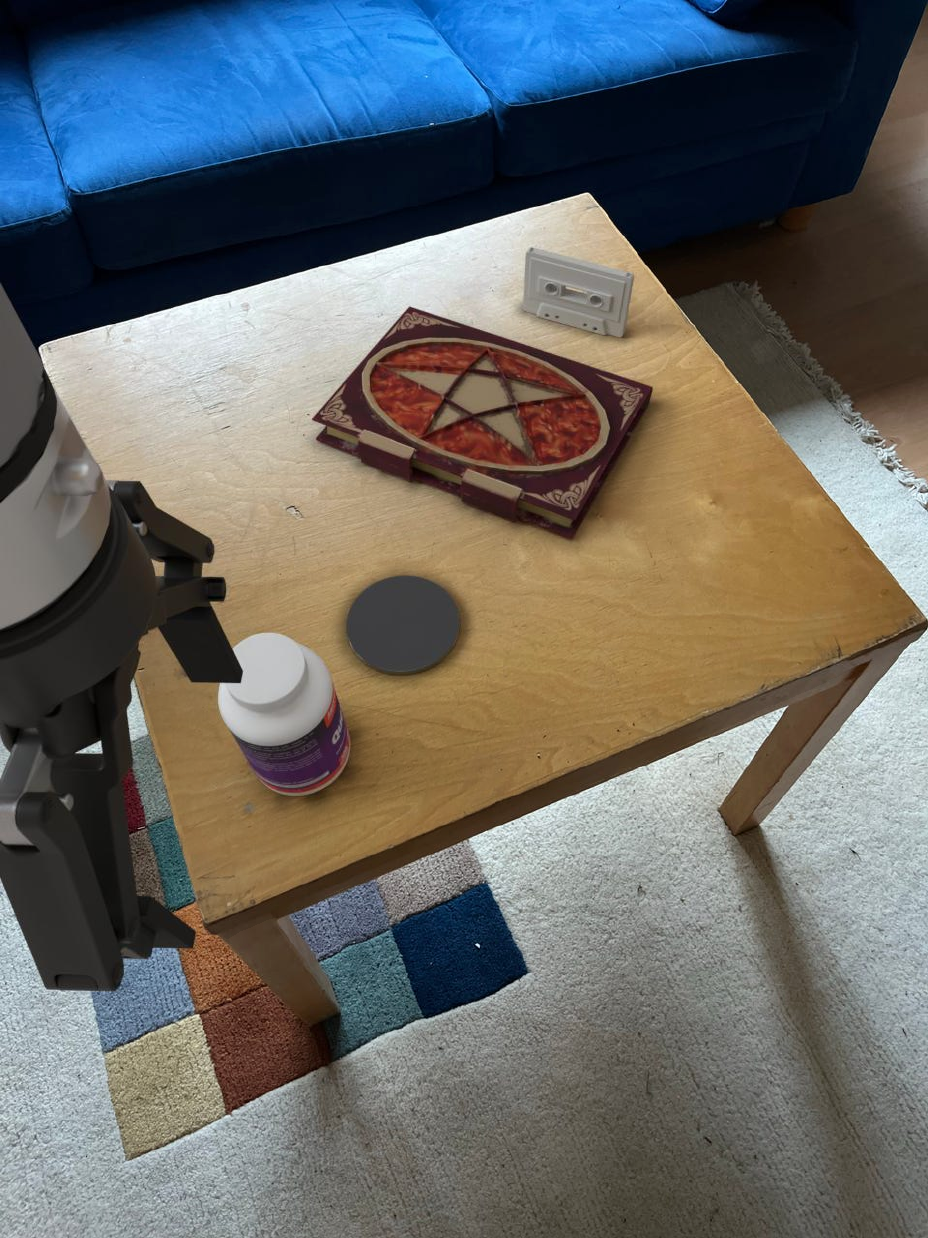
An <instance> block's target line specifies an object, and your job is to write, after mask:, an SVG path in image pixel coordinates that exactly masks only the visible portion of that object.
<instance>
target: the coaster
mask: <svg viewBox="0 0 928 1238" xmlns="http://www.w3.org/2000/svg"><path fill="white" fill-rule="evenodd" d="M460 621H461V619H460V614H459V608H458V607H457V604H456V602H455V600H454V598H453V597H452V596H451V594H449V592H448V591H447V590H445V588H444V587H442V586H441V585H440V584H438V583H437V582H434V581H432V580H430V579H428V578H424V577H421V576H416V575H407V574H406V575H395V576H389V577H386V578H382V579H380V580H377V581H375V582H374V583H372V584H370V585H369V586H367V587H366V588H365V589H364V590H362V591H361V592H360V594H358V595H357V597H355V599H354V600H353V602H352V604H351V606H350V607H349V610H348V612H347V616H346V620H345V631H346V637H347V640H348V643H349V646H350V648H351V651H353V653H354V654H355V656H356V657H357V658H358V659H359V660H360V661H361V662H362V663H363V664H365V666H368V667H369V668H371V669H372V670H375V671H377V672H381V673H383V674H388V675H393V676H394V675H396V676H406V675H407V676H408V675H414V674H418V673H422V672H424V671H426V670H429V669H431V668H433V667H434V666H436V665H439V663H441V662H442V661H443V660H444V659H445V658H446V657H447V656H448V655H449V654H450V653H451V651H452V650H453V648H454V647H455V645H456V642H457V640H458V637H459V633H460V627H461V626H460V625H461V623H460Z"/></svg>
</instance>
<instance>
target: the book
mask: <svg viewBox="0 0 928 1238" xmlns="http://www.w3.org/2000/svg"><path fill="white" fill-rule="evenodd" d="M653 389H654V388H653V386H652V385H649V384H646V383H643V382H639V381H637V380H634V379H630V378H627V377H625V376H621V375H618V374H615V373H612V372H609V371H606V370H603V369H600V368H598V367H594V366H592V365H589V364H585V363H582V362H580V361H576V360H573V359H570V358H567V357H564V356H562V355H558V354H555V353H552V352H549V351H546V350H543V349H540V348H537V347H534V346H531V345H528V344H525V343H522V342H518V341H516V340H512V339H510V338H507V337H504V336H500V335H497V334H494V333H492V332H490V331H489V332H488V331H485V330H482V329H480V328H476V327H473V326H471V325H467V324H464V323H461V322H458V321H455V320H453V319H449V318H447V317H443V316H440V315H438V314H434V313H431V312H428V311H425V310H422V309H419V308H416V307H413V306H408V307H407V308H406V310H404V312H403V313H402V314H401V315H400V316H399V318H398V319H397V320H396V321H395V322H394V323H393V324H392V326H391V327H390V328H389V329H388V330H387V331H386V332H385V333H384V334H383V336H382V337H381V339H380V340H378V342H377V343H376V344H375V346H373V348H372V349H371V350H370V351H369V352H368V353H367V354H366V356H365V357H363V359H362V360H361V361H360V363H359V364H358V365H357V366H356V367H355V369H353V370H352V372H351V373H350V374H349V375H348V376H347V377H346V379H345V380H344V381H343V382H342V383H341V385H340V386H339V387H337V389H336V391H334V393H333V394H332V395H331V396H330V397H329V398H328V400H327V401H326V402H325V403H324V404H323V405H322V407H321V408H320V409H319V410H318V411H317V412H316V413H315V415H314V416H313V417H312V418H311V421H313V422H316V423H319V424H321V425H322V426H323V425H324V428H323V429H322V430H321V432H320V433H319V434H318V435H317V436H316V437H315V440H316V441H317V442H318V443H321V444H325V445H327V446H329V447H332V448H335V449H336V450H337V449H338V450H340V451H342V452H344V453H347V454H350V455H352V456H355V457H357V458H359V459H360V463H361V464H364V465H366V466H369V467H371V468H374V469H377V470H379V471H382V472H384V473H386V474H390V475H392V476H393V477H394V476H395V477H397V478H399V479H402V480H405V481H407V482H409V483H411V482H414V481H415V480H416V481H419V482H422V483H425V484H427V485H430V486H432V487H434V488H438V489H439V490H443V491H445V492H448V493H451V494H453V495H456V496H457V497H460V498H461V503H464V504H467V505H469V506H472V507H474V508H476V509H479V510H482V511H484V512H487V513H489V514H492V515H494V516H496V517H499V518H503V519H505V520H507V521H510V522H512V523H517V522H518V520H519V521H522V522H524V523H528V524H530V525H533V526H534V527H538V528H540V529H543V530H544V531H545V530H546V531H548V532H551V533H553V534H556V535H558V536H561V537H563V538H566V539H569V540H573V539H574V537H575V535H576V534H577V532H578V530H579V528H580V526H581V525H582V523H583V521H584V519H585V517H586V516H587V514H588V512H589V511H590V508H591V507H592V506H593V504H594V502H595V500H596V498H597V496H598V495H599V493H600V491H601V490H602V487H603V486H604V484H605V482H606V481H607V479H608V477H609V476H610V473H611V472H612V470H613V468H614V466H615V465H616V463H617V461H618V460H619V458H620V456H621V454H622V452H623V451H624V449H625V447H626V446H627V444H628V442H629V440H630V439H631V437H632V436H633V433H634V432H635V429H636V428H637V426H638V424H639V423H640V421H641V419H642V418H643V416H644V414H645V412H646V410H647V409H648V407H649V404H650V401H651V399H652V394H653V391H654V390H653Z"/></svg>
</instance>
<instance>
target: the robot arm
mask: <svg viewBox="0 0 928 1238" xmlns="http://www.w3.org/2000/svg"><path fill="white" fill-rule="evenodd" d="M215 553H216V552H215V544H214V542H213V540H212V538H210V537H209V536H207V535H206V534H204V533H203V532H200V531H199V530H197V529H195V528H193V527H192V526H190V525H188V524H186V523H185V522H183V521H182V520H180V519H178V518H176V517H175V516H173V515H171V514H169V513H168V512H166V511H164V510H162V509H161V508H159V507H157V505H156V503H155V502H154V500H153V499H152V497H151V496H150V494H149V492H148V490H147V489H146V487H145V486H144V484H143V483H142V482H141V480H118V479H117V480H115V479H114V480H109V479H106V477H105V474H104V472H103V470H102V468H101V466H100V465H99V463H98V462H97V460H96V458H95V457H94V455H93V453H92V452H91V450H90V448H89V447H88V445H87V443H86V441H85V439H84V438H83V436H82V434H81V433H80V431H79V429H78V427H77V426H76V424H75V422H74V420H73V419H72V417H71V415H70V413H69V412H68V410H67V408H66V406H65V405H64V403H63V401H62V399H61V397H60V395H59V394H58V392H57V391H56V388H55V387H54V385H53V383H52V381H51V378H50V376H49V374H48V372H47V371H46V369H45V366H44V364H43V362H42V359H41V357H40V355H39V353H38V351H37V349H36V347H35V345H34V344H33V342H32V340H31V338H30V335H29V334H28V332H27V331H26V328H25V326H24V324H23V323H22V321H21V319H20V317H19V315H18V312H17V311H16V310H15V307H14V306H13V304H12V301H11V300H10V298H9V297H8V294H7V293H6V291H5V289H4V287H3V285H2V283H1V282H0V740H1V742H2V744H3V746H4V748H5V749H6V751H8V753H9V755H8V758H7V761H6V763H5V765H4V768H3V770H2V772H1V773H2V774H1V776H0V882H1V884H2V887H3V889H4V891H5V893H6V897H7V899H8V901H9V903H10V907H11V909H12V911H13V913H14V916H15V918H16V921H17V923H18V925H19V928H20V930H21V932H22V935H23V938H24V939H25V940H24V941H25V943H26V945H27V948H28V950H29V952H30V954H31V957H32V960H33V962H34V964H35V967H36V969H37V971H38V974H39V977H40V979H41V981H42V984H43V986H44V988H45V989H46V990H47V991H69V992H71V991H74V992H116V991H117V990H119V988H120V987H121V985H122V981H123V978H124V975H125V962H124V960H126V959H127V960H148V959H150V958H151V957H152V954H153V950H154V949H184V950H185V949H190V950H192V949H193V950H194V946H195V941H196V934H197V931H196V930H195V929H194V928H192V927H191V926H190V925H189V924H187V923H186V922H185V921H184V920H182V919H181V918H180V917H178V916H177V915H176V914H175V913H173V912H172V911H170V910H169V909H168V908H167V907H165V906H164V905H163V904H162V903H160V902H159V901H158V900H156V899H155V898H154V897H153V896H151V895H138V891H137V884H136V877H135V876H136V875H135V868H134V862H133V852H132V845H131V837H130V830H129V822H128V816H127V815H128V814H127V807H126V800H125V791H124V785H123V779H124V778H125V776H126V775H127V774H129V772H130V770H131V769H132V768H133V765H134V756H133V748H132V740H131V734H130V724H129V717H128V708H129V706H130V705H131V703H132V700H133V694H132V682H133V680H134V678H135V675H136V673H137V670H138V666H139V662H140V659H141V654H142V652H141V651H140V649H139V647H140V641H141V640H142V638H143V637H145V636H147V635H148V634H149V631H152V630H154V629H156V628H157V629H158V631H159V632H160V634H161V636H162V638H163V639H164V640H165V642H166V644H167V646H168V647H169V648H170V650H171V652H172V653H173V655H174V657H175V658H176V660H177V662H178V664H179V665H180V667H181V668H182V670H183V672H184V673H185V675H186V677H187V679H188V680H189V681H190V683H195V684H197V683H200V684H220V683H241V680H242V675H243V670H242V668H241V666H240V664H239V661H238V659H237V657H236V655H235V653H234V651H233V647H232V645H231V643H230V640H229V639H228V637H227V635H226V633H225V631H224V629H223V627H222V625H221V622H220V621H219V619H218V616H217V614H216V611H215V609H214V607H213V606H212V603H224V602H225V600H226V597H227V582H226V578H225V577H224V576H203V564H212V562H213V559H214V556H215ZM153 561H155V562H157V563H161V564H162V563H164V564H163V565H164V566H163V575H156V571H155V566H154V563H153ZM99 742H100V744H101V753H94V752H93V753H90V752H89V753H88V752H86V753H85V752H80V751H83V750H84V749H86V748H89V747H90V746H93V745H95V744H98V743H99Z"/></svg>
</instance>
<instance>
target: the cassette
mask: <svg viewBox="0 0 928 1238" xmlns="http://www.w3.org/2000/svg"><path fill="white" fill-rule="evenodd" d="M524 262H525V263H524V275H523V276H524V278H523V281H524V282H523V297H522V299H523V301H522V309H523V311H524V312H526V313H530V314H533V315H536V317H537V318H541V319H544V320H548V321H552V322H555V323H558V324H562V325H565V326H570V327H573V328H577V329H580V330H583V331H588V332H591V333H595V334H598V335H602V336H607V335H609V336H612V337H616V338H622V337H623V335H625V332H626V327H627V321H628V314H629V309H630V303H631V299H632V293H633V286H634V281H635V274H634V273H632V272H631V271H630V272H629V271H625V270H622V269H617V268H614V267H610V266H606V265H603V264H598V263H594V262H591V261H586V260H583V259H580V258H575V257H571V256H567V255H563V254H560V253H555V252H552V251H548V250H545V249H540V248H537V247H533V246H530V247H529V248H528V249H527V250H526V252H525V258H524ZM577 290H579V291H577ZM581 291H582V292H581ZM584 292H586V293H584Z"/></svg>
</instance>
